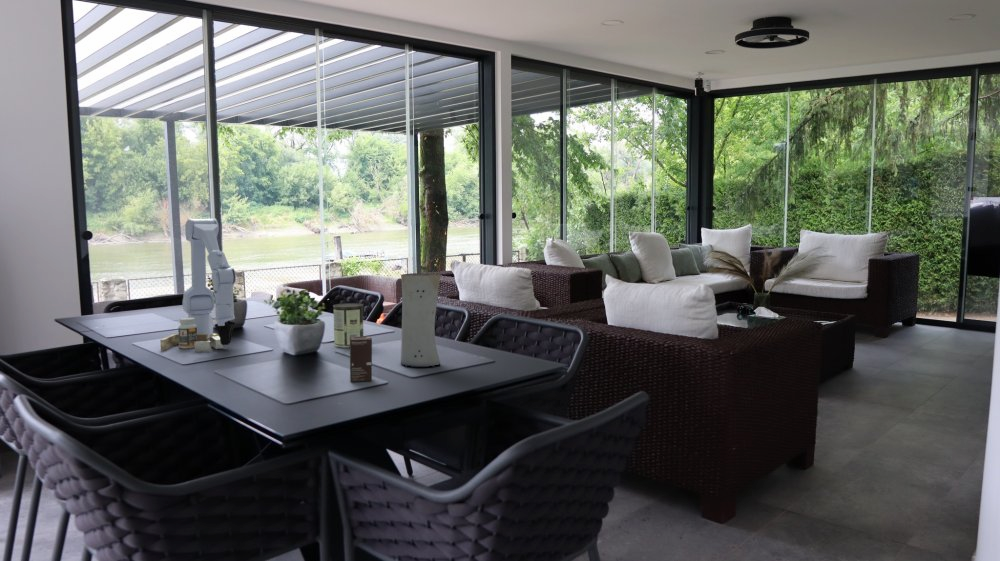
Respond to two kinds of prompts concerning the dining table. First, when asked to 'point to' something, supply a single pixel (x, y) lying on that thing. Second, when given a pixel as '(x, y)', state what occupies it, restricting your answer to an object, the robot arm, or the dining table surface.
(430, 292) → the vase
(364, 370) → the box
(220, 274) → the robot arm
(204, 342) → the bracket
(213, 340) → the bar
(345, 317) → the coffee can
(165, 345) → the oak jamb corner
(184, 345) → the pill bottle
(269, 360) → the dining table surface
